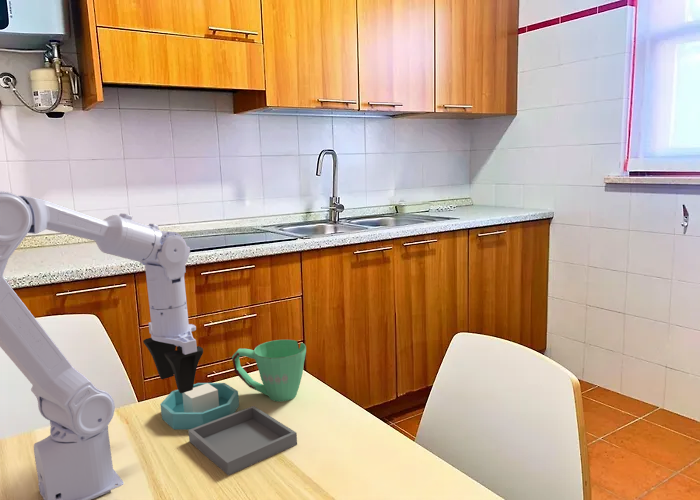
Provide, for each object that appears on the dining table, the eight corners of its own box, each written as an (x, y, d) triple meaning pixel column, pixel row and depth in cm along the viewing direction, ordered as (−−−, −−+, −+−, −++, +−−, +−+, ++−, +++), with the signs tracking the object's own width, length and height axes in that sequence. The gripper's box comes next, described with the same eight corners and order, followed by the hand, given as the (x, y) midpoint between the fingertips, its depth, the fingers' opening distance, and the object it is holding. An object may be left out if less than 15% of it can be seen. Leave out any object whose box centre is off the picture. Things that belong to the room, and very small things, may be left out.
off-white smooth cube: (193, 419, 97) (191, 398, 96) (184, 412, 100) (182, 391, 99) (219, 410, 100) (217, 389, 99) (209, 403, 103) (207, 383, 102)
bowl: (183, 439, 91) (181, 421, 90) (154, 414, 101) (152, 397, 100) (249, 414, 99) (248, 397, 98) (217, 393, 109) (215, 377, 108)
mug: (314, 388, 109) (311, 340, 107) (300, 411, 100) (297, 359, 98) (245, 384, 112) (241, 338, 110) (225, 406, 103) (220, 356, 101)
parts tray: (228, 478, 80) (227, 462, 79) (189, 444, 90) (188, 430, 89) (297, 447, 87) (296, 432, 87) (254, 418, 97) (253, 405, 97)
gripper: (211, 307, 85) (218, 389, 88) (173, 292, 96) (181, 365, 99) (167, 318, 81) (176, 404, 83) (133, 300, 92) (141, 376, 94)
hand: (176, 383), depth 91 cm, fingers open, 7 cm apart
